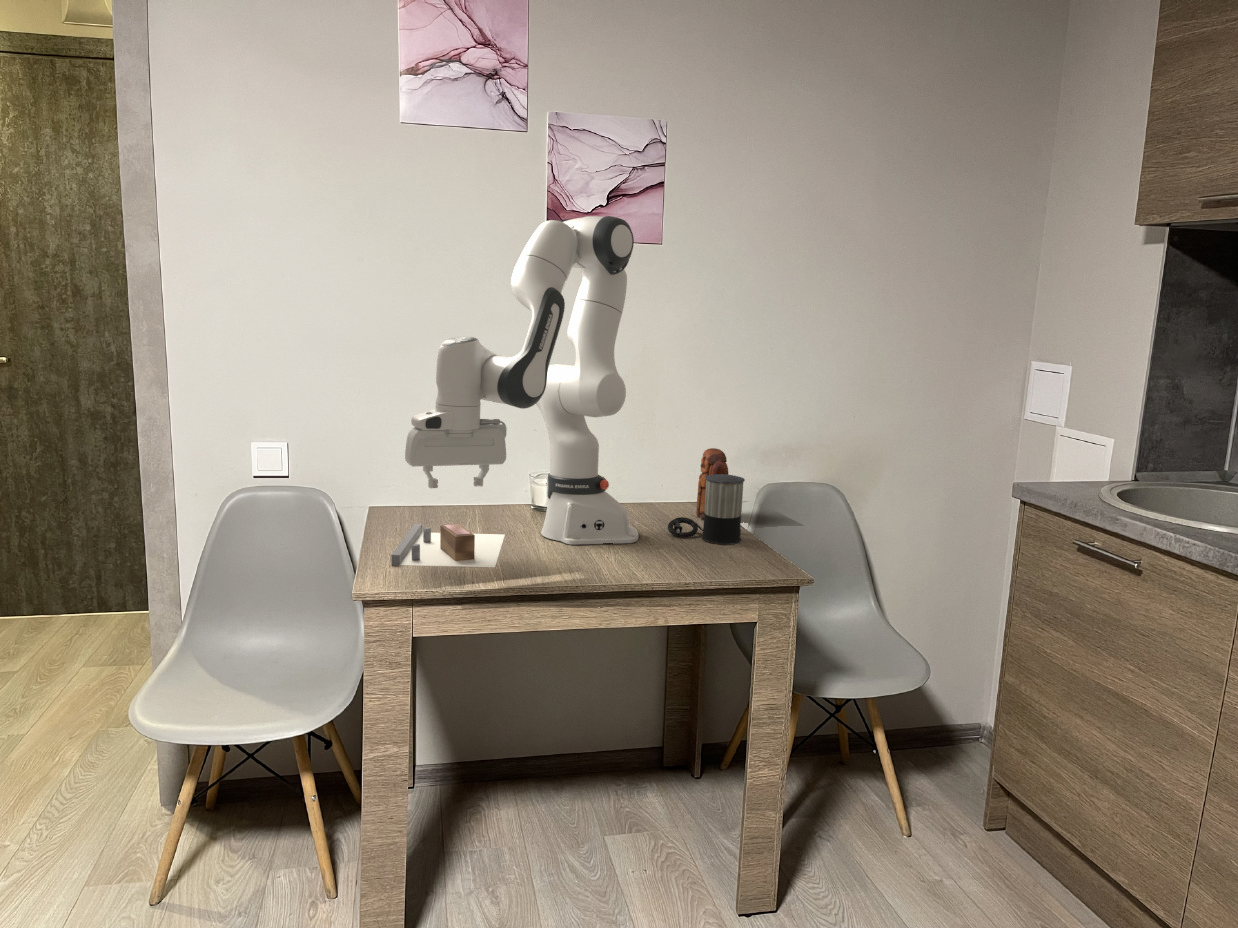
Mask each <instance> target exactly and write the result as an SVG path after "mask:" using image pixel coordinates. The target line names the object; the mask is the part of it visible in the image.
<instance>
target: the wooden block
mask: <svg viewBox="0 0 1238 928" xmlns="http://www.w3.org/2000/svg"><path fill="white" fill-rule="evenodd" d="M439 533H440V549H441V550H443V551H444V552H445V553H446V554H447V555H448V556H450V557H451V558H452V559H453V560H454V561H462V560H472V559H474V551H475V535H474V534H475V533H472V532H471V531H470V530H468V529H467V528H466V527H464V526H463V525H461V524H460V523H453V524H451V523H450V524H443V525H440V530H439Z"/></svg>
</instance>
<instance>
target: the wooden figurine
mask: <svg viewBox="0 0 1238 928" xmlns="http://www.w3.org/2000/svg"><path fill="white" fill-rule="evenodd" d="M700 462H701V464H700V472H701V473H700V475H699V476H698V477H699V478H698V481H697V482H698V483H697V495H696V496H697V497H696V509H695V510H696V513H695V514H696V517H697V516H699V517H698V518H700V520H702V521H704V513H705V493H706V479H705V476H708V475H714V474H723V475H729V466H728V463H727V456H726V454H725V452H724V451H723V450H721V449H720V448H717V447H711V448H707V449H705V450H704V451H703V453H702V457H701V460H700Z"/></svg>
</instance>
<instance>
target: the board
mask: <svg viewBox="0 0 1238 928" xmlns="http://www.w3.org/2000/svg"><path fill="white" fill-rule="evenodd" d="M473 534H474V535H475V551H474V559H472V560H462V561H454V560H453V559H452V558H451V557H450V556H448V555H447V554H446V553H445V552H444V551H443V550H441V549H440V532H432V527H430V526H427V527H423V523H416V522H415V523H414V524H413V525H412V526H411V528H410V529H409V531H408V532H407V533H406V535H405V536H404V537H403V538H402V540H401V542H400V543H399V544H398V545H397V547H396V548H395V549H394V551H393V552H392V553H391V558H390V559H391V566H411V567H413V566H415V567H417V566H418V567H421V566H422V567H424V566H425V567H455V568H456V567H459V568H463V567H465V568H496V565H497V562H498V559H499V555H500V553H501V549H502V546H503V542H504V540H505V539H504V538H505V536H506V534H502V533H501V534H495V533H491V534H490V533H473Z"/></svg>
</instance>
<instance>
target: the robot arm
mask: <svg viewBox="0 0 1238 928" xmlns="http://www.w3.org/2000/svg"><path fill="white" fill-rule="evenodd" d="M634 242H635V239H634V233H633V231H632V228H631V226H630V225H629V223H628V222H627V220H624V219H622V218H621V217H617V216H612V215H606V216H598V215H595V216H594V215H589V216H588V215H587V216H583V217H577V218H572V219H569V218H568V219H567V218H566V219H562V220H555V219H554V220H553V219H549V220H546V221H543V222H542V223H541V224H540V225H539V226H538V227H537V228H536V230H535V231H534V232H533V233H532V235H531V237H530V238H529V240H528V241H527V243H526V244H525V246H524V248H523V250H522V252H520V253H521V254H520V256H518V257H519V258H518V260H517V262H516V264H515V265H514V268H513V272H512V275H511V279H510V288H511V290H512V293H513V295H514V297H515V298H516V300H517V301H518V302H519V303H520V304H521V305H522V306H524V308H526V309H527V310H529V311H530V312H531V321H530V324H529V328H528V331H527V334H526V337H525V340H524V343H523V347H522V349H521V351H520V352H519V353H518V354H516V355H514V356H508V355H502V354H497V353H495V352H493V351H492V350H490V349H488V348H486V347H485V345H482V343H481V342H480V340H479V339H478V338H476V337H473V336H463V337H462V336H461V337H460V336H459V337H458V336H457V337H451V338H448V339H446V340H444V341H443V342H441V344H440V347H439V349H438V352H437V353H438V354H437V357H436V358H437V360H436V373H435V374H436V375H435V376H436V377H435V381H436V386H437V396H436V398H435V408H433V409H430V410H428V411H424V412H421V413H418V414H414V415H412V416H411V425H412V426H413V428H411V429H410V430H409V432H408V434H407V437H406V443H405V451H404V459H405V462H406V463H407V464H408V465H409V466H411V467H422V472H424V474H425V476H426V478H427V479H428V480H427V481H428V485H427V486H428V488H429V489H438V487H439V480H438V479H437V478H436V477H435V478H434V477H433V475H432V473H431V472H433V471H434V467H447V466H451V467H452V466H478V468H479V469H480V470H479V473H478V475H477V476H474V477H473V486H474V487H477V488H478V487H480V488H481V487H484V479H485V477H486V475H487V474H488V472H489V471H490V465H493V466H494V465H503V464H504V463H505V462H506V461H507V447H506V437H507V429H508V428H507V425H506V424H505V422H504V421H503V420H500V418H493V419H489V418H481V405H482V404H481V400H483V401H487V402H492V403H497V404H504V405H507V406H511V407H515V408H518V409H523V410H524V409H529V408H531V407H534V406H535V405H536V407H538V409H539V410H540V413H541V414H542V416H543V419H544V422H545V426H546V429H547V433H548V439H549V473H548V475H547V479H546V480H547V481H546V495H547V507H546V511H545V517H544V518H545V519H544V522H543V525H542V529H541V532H540V534H541V535H542V537H545V538H546V539H549V540H553V541H554V540H555V541H557V542H562V543H564V544H567V545H604V544H603V543H613V544H633V543H635V542H638V540H639V539H640V538H639V537H640V536H639V531H638V529H637V528H635V527H633V526H631V525H630V517H629V514H628V511H627V509H626V507H625V506H624V505H623V504H621V503H620V502H619V501H618V500H617V499H615V498H614V497H613V496H612V495H611V494H609V493H608V492H607V490H608V488H609V486H610V483H609V481H608V480H607V478H606V477H604V476H603V475H600V474H599V452H600V451H599V450H600V446H599V445H600V444H599V440H598V439H597V437H596V435H595V434H593V432H591V431H590V429H589V427H588V424H587V422H586V418H585V417H590V418H602V417H608V416H609V417H610V416H614V415H615V414H617V413H619V412H620V410H621V409H622V408H623V406H624V404H625V401H626V397H627V389H626V384H625V381H624V380H623V378H622V377H621V376H620V374H619V372H618V370H617V367H616V360H615V345H616V340H617V336H618V331H619V326H620V323H621V319H622V315H623V311H624V308H625V307H624V306H625V302H626V296H627V288H628V287H627V286H628V275H627V272H626V270H625V269H626V267H627V266H628V264H629V261H630V258H631V257H632V253H633V249H634V246H635V245H634V244H635V243H634ZM572 268H576V269H581V270H580V272H581V282H580V284H579V288H578V291H577V293H576V297H575V300H574V303H573V307H572V308H573V309H572V311H571V316H570V319H569V323H568V326H567V329H566V336H567V339H568V341H569V343H570V344H571V345H572V346H573V347H574V350H575V362H574V365H570V364H564V363H562V364H561V363H555V364H550V363H551V360H552V355H553V352H554V350H555V345H556V342H557V339H558V336H559V333H560V330H561V329H560V328H561V327H562V324H563V323H562V322H563V318H564V313H565V304H566V302H565V297H564V295H563V293H564V289H565V286H566V283H567V281H568V279H569V276H570V275H571V271H572Z"/></svg>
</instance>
